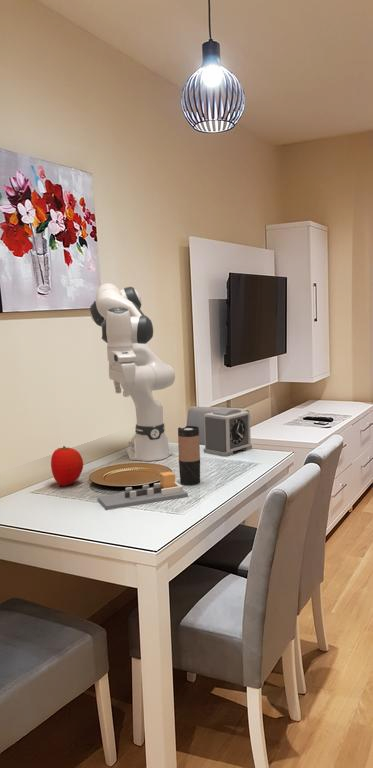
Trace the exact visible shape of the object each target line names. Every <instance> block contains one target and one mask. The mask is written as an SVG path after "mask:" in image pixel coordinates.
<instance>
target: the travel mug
mask: <svg viewBox="0 0 373 768" xmlns="http://www.w3.org/2000/svg"><path fill="white" fill-rule="evenodd" d="M177 441H178V443H177V444H178V445H177V446H178V447H177V448H178V468H179V481H180V482H179V484H180V485H182V486H196V485H199V484H200V483H201V452H200V449H201V448H200V447H201V446H200V427H199V426H195V425H186V426H185V427H178V428H177Z"/></svg>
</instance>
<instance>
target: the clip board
mask: <svg viewBox="0 0 373 768" xmlns="http://www.w3.org/2000/svg"><path fill="white" fill-rule="evenodd" d="M158 486H160V482H155V483H153V487H158ZM144 488H149V489H147V495H143V496H137V497H136V491H131V490H133V487H132V486H130V487H125V491H129V492H130V498H125V493H124V492H119V493H111V494H107V495H106V494H105V495H100V496H97V497H96V498H97V501H98V502H99V503H100V505H101V506H102V507H103V508H104V509H105V510H106V511H107V510H114V509H121V508H127V507H131V506H138V505H143V504H144V505H145V504H149V503H151V504H152V503H156V502H162V501H170V500H175V499H181V498H187V497H189V495H188V494H189V493H188V492H187V491H185V490H184V485H182V484H181V483H180V482H179V483H178V482H177V481H176V480H175V487H171V488H165V489H161V493H156V494H154V489H153V488H151V487H150V485H149V484H143V485H142V489H144Z"/></svg>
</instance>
